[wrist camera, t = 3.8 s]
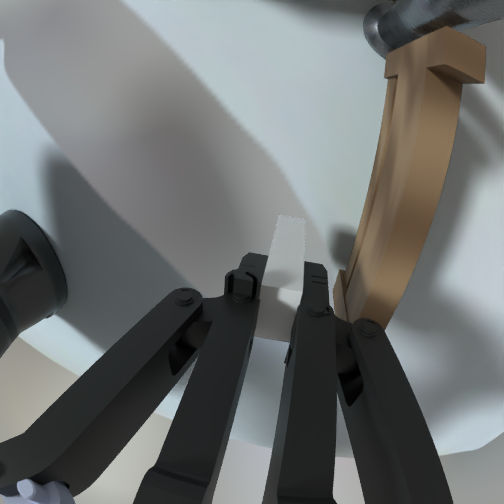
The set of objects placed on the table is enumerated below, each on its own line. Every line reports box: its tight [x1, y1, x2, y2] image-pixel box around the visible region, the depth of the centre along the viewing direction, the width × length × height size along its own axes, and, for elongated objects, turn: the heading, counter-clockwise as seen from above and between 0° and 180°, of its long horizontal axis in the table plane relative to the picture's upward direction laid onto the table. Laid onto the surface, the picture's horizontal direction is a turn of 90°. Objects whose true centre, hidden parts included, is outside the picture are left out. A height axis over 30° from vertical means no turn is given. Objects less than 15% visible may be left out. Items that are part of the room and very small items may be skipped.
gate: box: [333, 26, 486, 331], centre depth 13 cm, size 17×2×9 cm, turn 174°
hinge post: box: [363, 0, 504, 58], centre depth 7 cm, size 4×4×12 cm
